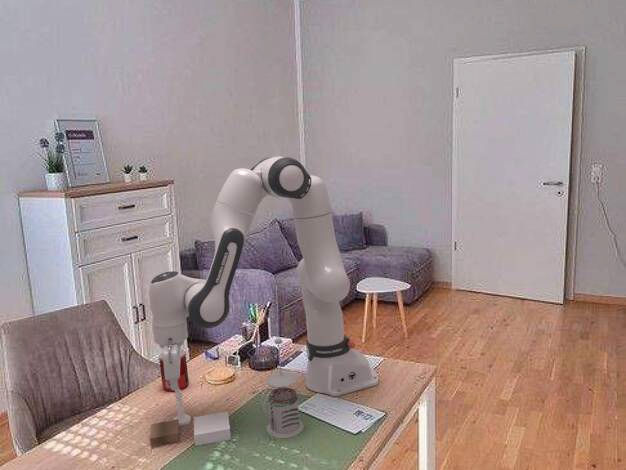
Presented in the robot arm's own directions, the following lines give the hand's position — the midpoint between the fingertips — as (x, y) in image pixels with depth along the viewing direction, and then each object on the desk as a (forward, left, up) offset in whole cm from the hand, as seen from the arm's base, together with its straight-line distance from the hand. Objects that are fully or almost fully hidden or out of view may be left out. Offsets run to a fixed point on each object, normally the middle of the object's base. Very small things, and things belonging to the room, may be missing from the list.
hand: (175, 380), depth 143 cm
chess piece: (0, 0, -12) cm, 12 cm away
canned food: (+2, -22, -12) cm, 25 cm away
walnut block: (+4, +7, -12) cm, 15 cm away
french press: (-26, +13, -12) cm, 32 cm away
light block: (-8, +9, -12) cm, 17 cm away
